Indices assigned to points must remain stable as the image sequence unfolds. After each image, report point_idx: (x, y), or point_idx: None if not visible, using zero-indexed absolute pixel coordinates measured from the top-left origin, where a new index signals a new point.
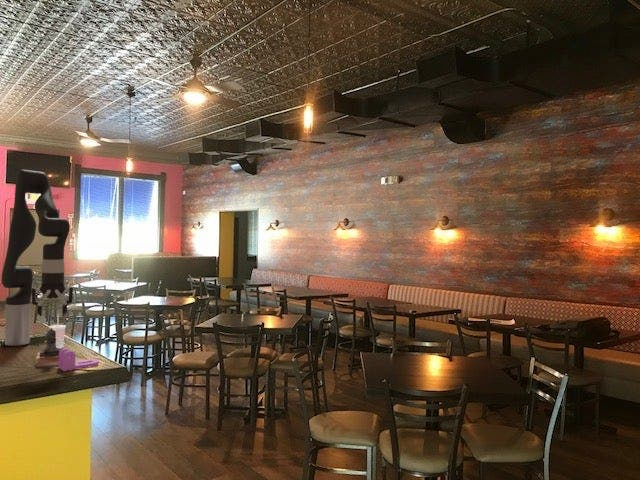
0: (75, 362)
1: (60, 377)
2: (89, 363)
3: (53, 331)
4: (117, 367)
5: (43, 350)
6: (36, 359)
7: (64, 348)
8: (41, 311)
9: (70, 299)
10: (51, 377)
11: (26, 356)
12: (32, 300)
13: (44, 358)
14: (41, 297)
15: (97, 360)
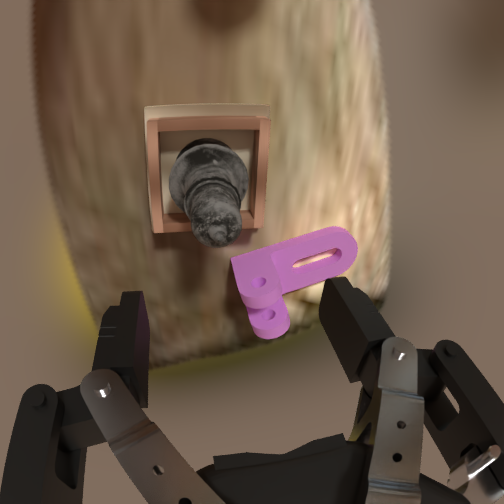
0: (288, 254)
1: (232, 345)
2: (324, 278)
3: (229, 243)
4: (378, 293)
5: (174, 193)
6: (147, 154)
7: (263, 296)
8: (146, 363)
9: (430, 411)
10: (210, 341)
11: (105, 33)
12: (56, 464)
13: (181, 229)
14: (115, 455)
15: (355, 249)
